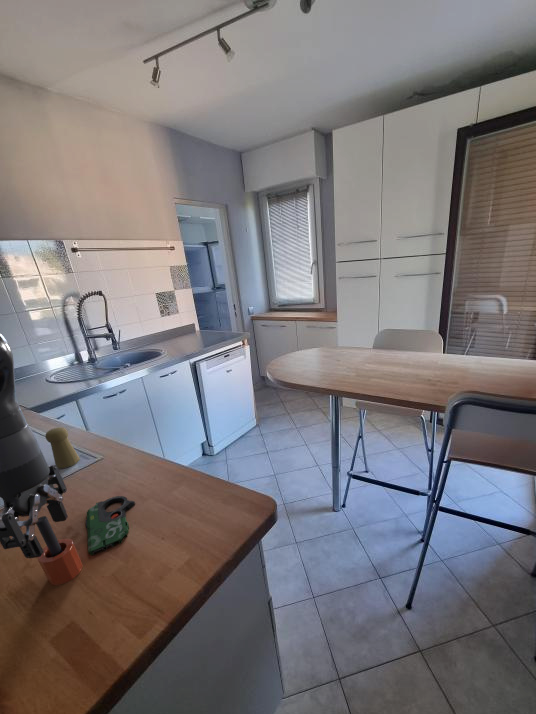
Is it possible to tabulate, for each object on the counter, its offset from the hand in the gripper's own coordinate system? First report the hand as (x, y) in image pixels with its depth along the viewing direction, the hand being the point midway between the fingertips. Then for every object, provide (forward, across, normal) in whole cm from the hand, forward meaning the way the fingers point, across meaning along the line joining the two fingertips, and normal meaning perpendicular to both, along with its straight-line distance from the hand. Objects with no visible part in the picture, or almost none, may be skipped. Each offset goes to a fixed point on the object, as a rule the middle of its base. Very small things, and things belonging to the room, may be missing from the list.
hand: (49, 536), depth 58 cm
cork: (+9, -42, -19) cm, 47 cm away
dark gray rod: (+9, 0, 0) cm, 9 cm away
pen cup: (+9, 0, 0) cm, 9 cm away
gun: (+9, -12, +4) cm, 16 cm away
